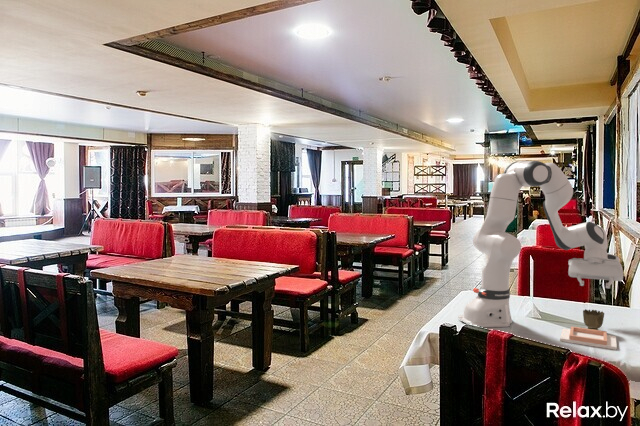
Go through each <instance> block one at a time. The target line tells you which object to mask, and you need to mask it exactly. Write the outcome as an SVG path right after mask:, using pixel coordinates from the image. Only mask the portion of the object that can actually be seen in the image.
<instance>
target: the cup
mask: <svg viewBox="0 0 640 426" xmlns="http://www.w3.org/2000/svg"><path fill="white" fill-rule="evenodd" d="M582 316H583V323H584V325H585V326H586V327H587V329H593V330H599V328H601V327H602V325H603V323H604V317H605V312H603V311H600V310H596V309H592V310H591V309H583V311H582Z"/></svg>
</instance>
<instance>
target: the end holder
mask: <svg viewBox="0 0 640 426" xmlns="http://www.w3.org/2000/svg"><path fill="white" fill-rule="evenodd" d="M607 333H608V331H606V330H599V329H598V330H593V329H588V328H586V327H578V326H573V325H572V326H570V328H562V329H561V334H560V337H559V342H565V343H570V344H577V345H584V346H591V347H597V348H602V349H608V350H615V351H616V350H617V348H618V347H617V345H618V344H617V336H616V335H610V334H607Z"/></svg>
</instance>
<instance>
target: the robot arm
mask: <svg viewBox="0 0 640 426" xmlns="http://www.w3.org/2000/svg"><path fill="white" fill-rule="evenodd" d="M527 187H528V188H529V187H534V188H535V187H539V188H540V189H541V191H542V193H543V195H544V198H545V200H544V201H543V204H542V206H543V207H542V208H543V211H544V214H545V216H546V218H547V221H548V224H549V226H550V229H551V231H552V234H553V238H554V242H555V245H556V246H557V247H558V248H560V249H562V250H564V251H569V250H574V249H575V248H578V247H583V246H584V249H585V250H584V252H583V258H579V257H578V258H577V257H573V258H570V259H568V261H567V262H568V264H567V265H568V271H567V273H568V276H569V277H570V278H576V279H577V281H578V282H579V286H581V287H584V286H585V280H582V279H591V280H601V281H602V280H603V281H608V282H605V289H611V285H612V284H613V283H614V281H615V282H621V281H624V271H623V266H622V264H621V262H620V257H619V256H617V255H614V254H610V253H608V251H607V250H608V248H609V247H608V237H607V236H608V235H607V232H606V230H605V229H604V228H603V227H601V226H599V225H597V224H596V223H594V222H592V221H586V222H582V223H578V224H576V225H570V226H564V225H563V223H562V220H561V218H560V215H559V212H558V211H560V209H561V208H563V207H565V206H566V205H567V204H568V203H569V202H570V201H571V199H572V198H573V195H574V189H573V186H572V184H571V181H570V180H569V179H568V178H567V176H566V174H565V173H564V172H563V171H562V169H561V168H560V167H559V166H558V165H557V164H556V163H554V162H546V163H545V162H542V161H539V160H520V161H514V162H512V163H509V165H507V166H506V167H505V170H504V172H503V173H501V174H498V175H497V176H496V177H495V179H494V181H493V184H492V188H491V191H490V195H489V199H488V200H489V201H488V207H487V212H486V215H485V218H484V221H483V223H482V225H481V227H480V229H479V230H478V231H477V232H476V233H475V234H474V236H473V238H472V242H473V243H472V244H473V247H475V249H477V251H479V252H480V253H482V254H484V255H488V258H487V262H486V264H485V266H484V267H482V270H481V286H480V289H479V288H477V287H474V288H472V292H474V293H475V294H477V296H475V297H474V298H473V299H472V300H470V301H469V302H468V303H466V305H465V306H464V309H463V314H462V315H458V318H459V319H460V320H462V321H464V322H465V323H468V324H470V323H472V325H477V326H481V327H480V328H498V327H499V328H500V327H502V328H505V327H507V328H508V327H510V326H511V324H512V323H513V319H512V315H511V308H510V297H511V289H510V271H511V269H512V268H511V267H512V264H513V261H514V260H515V258H517V257H518V256H519V254H520V252H521V249H522V245H521V241H520V240H519V239H518V237H516V236H514V235H513V234H510V233H508V232H506V230H507V228H508V226H509V225H510V224H511V223H512V222H513V221H514V220H515V216H516V210H517V205H518V199H519V193H520V191H521V189H522V188H527ZM458 318H457V319H458ZM459 319H458V320H459Z"/></svg>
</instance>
